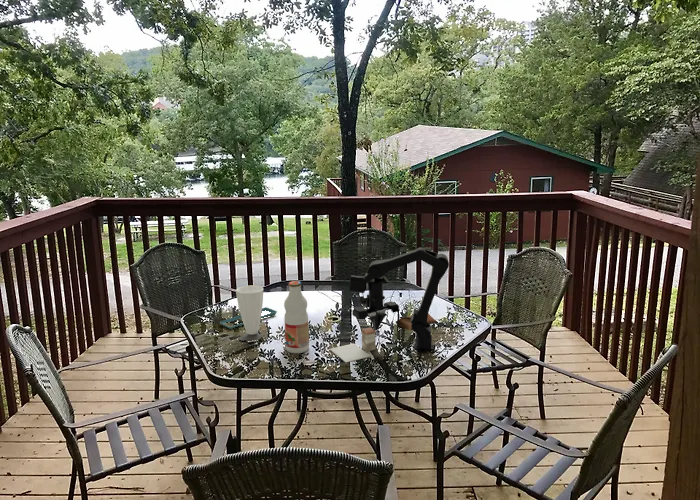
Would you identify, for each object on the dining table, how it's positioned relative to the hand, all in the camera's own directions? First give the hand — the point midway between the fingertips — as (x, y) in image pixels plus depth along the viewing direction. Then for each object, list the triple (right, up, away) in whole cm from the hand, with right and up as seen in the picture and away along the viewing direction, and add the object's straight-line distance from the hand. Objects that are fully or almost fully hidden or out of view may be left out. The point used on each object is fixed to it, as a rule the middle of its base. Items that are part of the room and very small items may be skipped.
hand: (376, 330), depth 210 cm
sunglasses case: (+20, -2, +26) cm, 33 cm away
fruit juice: (-32, -8, +1) cm, 33 cm away
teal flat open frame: (-58, -1, +34) cm, 67 cm away
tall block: (-3, -7, 0) cm, 8 cm away
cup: (-52, -5, +13) cm, 54 cm away
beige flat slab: (-10, -8, -4) cm, 14 cm away
